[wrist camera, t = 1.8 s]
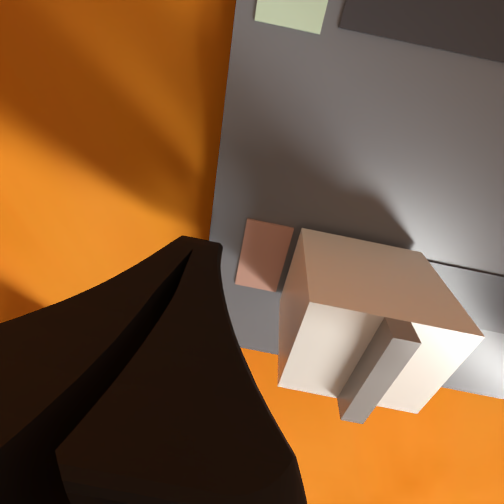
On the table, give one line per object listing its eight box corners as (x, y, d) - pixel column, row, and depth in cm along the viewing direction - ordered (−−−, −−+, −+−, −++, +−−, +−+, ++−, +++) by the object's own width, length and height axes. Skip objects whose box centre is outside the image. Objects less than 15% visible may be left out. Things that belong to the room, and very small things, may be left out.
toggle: (421, 252, 10) (502, 359, 6) (381, 320, 11) (425, 436, 8) (301, 227, 10) (311, 321, 6) (279, 300, 11) (277, 407, 8)
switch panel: (1137, -61, 6) (1330, -91, 5) (561, 390, 15) (583, 416, 13) (275, -257, 6) (273, -334, 5) (203, 319, 14) (197, 340, 13)
